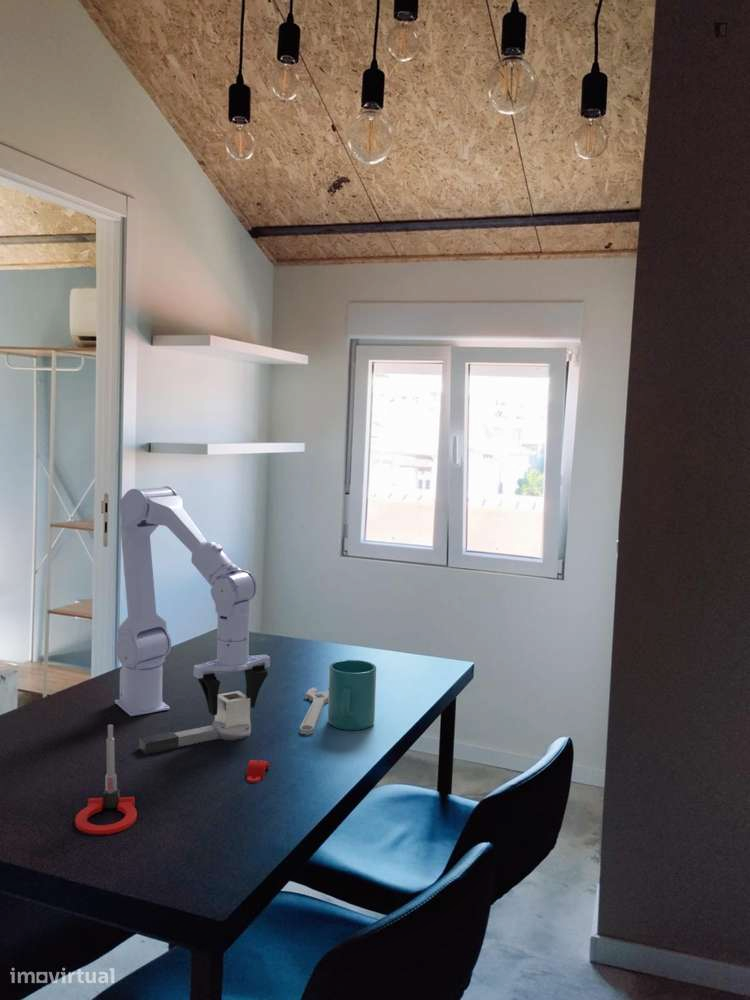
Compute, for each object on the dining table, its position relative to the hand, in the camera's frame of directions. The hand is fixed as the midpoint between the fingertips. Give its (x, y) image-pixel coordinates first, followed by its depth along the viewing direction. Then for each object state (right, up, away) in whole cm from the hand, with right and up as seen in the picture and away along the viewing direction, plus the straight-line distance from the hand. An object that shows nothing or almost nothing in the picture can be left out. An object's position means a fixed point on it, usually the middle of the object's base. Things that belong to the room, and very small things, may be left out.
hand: (231, 709), depth 157 cm
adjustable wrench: (+14, -4, +13) cm, 20 cm away
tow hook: (-12, -8, -34) cm, 37 cm away
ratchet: (-6, -5, -3) cm, 8 cm away
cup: (+22, -5, +6) cm, 23 cm away
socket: (0, -3, 0) cm, 3 cm away
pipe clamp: (+7, -7, -16) cm, 19 cm away
